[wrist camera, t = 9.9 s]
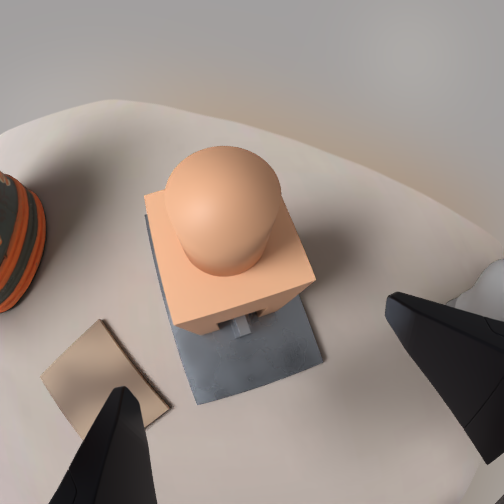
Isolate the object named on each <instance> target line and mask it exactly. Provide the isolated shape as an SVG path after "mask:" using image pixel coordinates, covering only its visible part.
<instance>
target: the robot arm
mask: <svg viewBox="0 0 504 504" xmlns="http://www.w3.org/2000/svg"><path fill="white" fill-rule="evenodd" d="M385 317H386V319H387V321H388V323H389V324H390V326H391V327H392V329H393V330H394V332H395V334H396V335H397V337H398V338H399V340H400V342H401V343H402V345H403V346H404V348H405V349H406V351H407V352H408V354H409V355H410V356H411V358H412V359H413V360H414V361H415V363H416V364H417V365H418V367H419V368H420V369H421V371H422V372H423V373H424V374H425V376H426V377H427V378H428V380H429V381H430V382H431V384H432V385H433V386H434V388H435V389H436V391H437V392H438V393H439V395H440V396H441V397H442V399H443V400H444V402H445V403H446V404H447V406H448V407H449V409H450V410H451V411H452V413H453V414H454V416H455V417H456V419H457V420H458V421H459V423H460V424H461V426H462V427H463V429H464V431H465V432H466V433H467V435H468V436H469V438H470V439H471V441H472V443H473V444H474V446H475V447H476V449H477V450H478V452H479V453H480V455H481V457H482V458H483V460H484V461H485V463H486V464H487V465H488V464H490V463H491V462H492V461H494V460H495V459H496V458H497V457H499V456H500V455H501V454H503V453H504V322H503V321H499V320H496V319H492V318H489V317H485V316H484V317H483V316H481V315H478V314H475V313H471V312H468V311H464V310H461V309H457V308H454V307H450V306H447V305H443V304H440V303H436V302H433V301H429V300H426V299H422V298H419V297H415V296H412V295H408V294H405V293H401V292H395V293H393V294H391V295H389V296H388V297H387V301H386V309H385ZM49 504H157V499H156V494H155V488H154V482H153V476H152V469H151V462H150V455H149V447H148V442H147V437H146V432H145V428H144V423H143V418H142V413H141V408H140V404H139V401H138V400H137V398H136V397H135V396H134V395H133V393H132V392H131V391H130V390H129V389H128V387H126V386H119V387H115V388H114V389H113V390H112V391H111V393H110V395H109V397H108V398H107V400H106V402H105V403H104V405H103V407H102V408H101V410H100V412H99V414H98V415H97V417H96V419H95V421H94V422H93V424H92V426H91V428H90V430H89V431H88V433H87V435H86V437H85V439H84V440H83V442H82V444H81V446H80V448H79V450H78V451H77V453H76V455H75V457H74V459H73V461H72V463H71V465H70V466H69V470H67V472H66V474H65V476H64V478H63V480H62V482H61V483H60V485H59V487H58V489H57V491H56V492H55V494H54V496H53V497H52V499H51V500H50V502H49ZM495 504H504V495H503V496H502V497H501V498H500V499H499V500H498V501H497V502H496V503H495Z"/></svg>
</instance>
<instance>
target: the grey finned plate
mask: <svg viewBox="0 0 504 504" xmlns="http://www.w3.org/2000/svg"><path fill="white" fill-rule="evenodd" d="M145 219H146V225H147V230H148V235H149V240H150V245H151V249H152V254H153V259H154V263H155V267H156V272H157V276H158V280H159V284H160V288H161V292H162V296H163V300H164V303H165V307H166V311H167V314H168V318H169V321H170V325H171V328H172V332H173V335H174V338H175V342H176V345H177V348H178V351H179V354H180V358H181V361H182V364H183V367H184V370H185V373H186V376H187V378H188V381H189V384H190V387H191V390H192V392H193V395H194V398H195V401H196V403H197V405H199V404H203V403H207V402H211V401H214V400H218V399H222V398H225V397H229V396H232V395H235V394H239V393H242V392H245V391H248V390H251V389H254V388H257V387H260V386H263V385H266V384H269V383H272V382H275V381H277V380H280V379H283V378H285V377H288V376H291V375H293V374H296V373H299V372H301V371H304V370H306V369H309V368H311V367H313V366H316V365H318V364H321V363H323V360H322V357H321V354H320V351H319V348H318V346H317V343H316V340H315V337H314V334H313V332H312V329H311V326H310V323H309V321H308V318H307V315H306V313H305V310H304V307H303V304H302V302H301V299H300V296H299V294H298V295H297V296H296V297H294V298H293V299H292V300H291V301H289V302H288V303H287V304H286V305H284V306H283V307H282V308H280V309H279V310H278V311H276V312H273V313H270V314H267V315H264V316H261V317H258V315H257V312H256V311H255V312H252V313H249V314H246V315H243V316H240V317H236V318H233V319H230V320H227V321H224V322H220V323H218V326H219V329H220V330H217V331H214V332H210V333H207V334H204V335H198V334H195V333H192V332H190V331H187V330H184V329H182V328H179V327H177V326H174V325H173V322H172V318H171V315H170V311H169V307H168V304H167V300H166V296H165V292H164V288H163V284H162V280H161V276H160V272H159V268H158V264H157V259H156V255H155V250H154V245H153V241H152V236H151V231H150V226H149V221H148V215H147V214H146V215H145Z"/></svg>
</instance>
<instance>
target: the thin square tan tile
mask: <svg viewBox="0 0 504 504" xmlns="http://www.w3.org/2000/svg"><path fill="white" fill-rule="evenodd" d="M40 378H41V379H42V381H43V383H44V385H45V386H46V388H47V390H48V391H49V393H50V394H51V396H52V398H53V399H54V401H55V402H56V404H57V405H58V407H59V408H60V410H61V411H62V413H63V414H64V416H65V417H66V418H67V420H68V421H69V423H70V424H71V425H72V427H73V428H74V429H75V431H76V432H77V433H78V435H79V436H80V437H81V438H82V440H84V439H85V437H86V435H87V433H88V431H89V430H90V428H91V426H92V424H93V422H94V421H95V419H96V417H97V415H98V414H99V412H100V410H101V408H102V407H103V405H104V403H105V402H106V400H107V398H108V397H109V395H110V393H111V391H112V390H113V389H114V388H115V387H119V386H126V387H128V389H129V390H130V391H131V392H132V393H133V395H134V396H135V397H136V398H137V400H138V401H139V404H140V408H141V413H142V418H143V423H144V428H145V427H146V426H147V425H149V424H150V423H151V422H153V421H154V420H155V419H157V418H158V417H159V416H161V415H162V414H163V413H164V412H166V411H167V410H168V409H169V408H170V407H169V406H168V405H167V404H166V403H165V401H164V400H163V399H162V398H161V397H160V396H159V395H158V394H157V392H156V391H155V390H154V389H153V388H152V387H151V385H150V384H149V383H148V382H147V381H146V379H145V378H144V377H143V376H142V374H141V373H140V372H139V371H138V369H137V368H136V367H135V366H134V364H133V363H132V362H131V360H130V359H129V358H128V357H127V355H126V354H125V353H124V351H123V350H122V348H121V347H120V346H119V344H118V343H117V342H116V340H115V339H114V337H113V336H112V334H111V333H110V332H109V330H108V329H107V327H106V326H105V324H104V323H103V321H102V320H100V319H99V320H98V321H97V322H95V323H94V324H93V325H92V326H91V327H90V328H89V329H88V330H87V331H86V332H85V333H84V334H83V335H81V336H80V337H79V338H78V339H77V340H76V341H75V342H74V343H73V344H72V345H71V346H70V347H69V348H68V349H67V350H66V351H65V352H64V353H63V354H62V355H61V356H60V357H59V358H58V359H57V360H56V361H55V362H54V363H53V364H52V365H51V366H50V367H49V368H48V369H47V370H46V371H45V372H44V373H43V374H42V375H41V376H40Z"/></svg>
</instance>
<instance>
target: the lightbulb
mask: <svg viewBox="0 0 504 504" xmlns="http://www.w3.org/2000/svg"><path fill="white" fill-rule="evenodd" d="M446 305H447V306H450V307H454V308H457V309H461V310H464V311H468V312H471V313H475V314H478V315H481V316H483V317H484V316H485V317H489V318H492V319H496V320H499V321H503V322H504V259H500V260H497V261H495V262H493V263H491V264H490V265H489V266H488V267H487V268H486V269H485V270H484V271H483V272H482V274H481V275H480V277H479V278H478V280H477V282H476V283H475V285H474V286H473V287H472V288H471V289H469V290H468V291H466V292H464V293H462V294H461V295H460V296H459V297H458V298H455V299H453V300H451V301H449V302H448V303H447V304H446Z"/></svg>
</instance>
